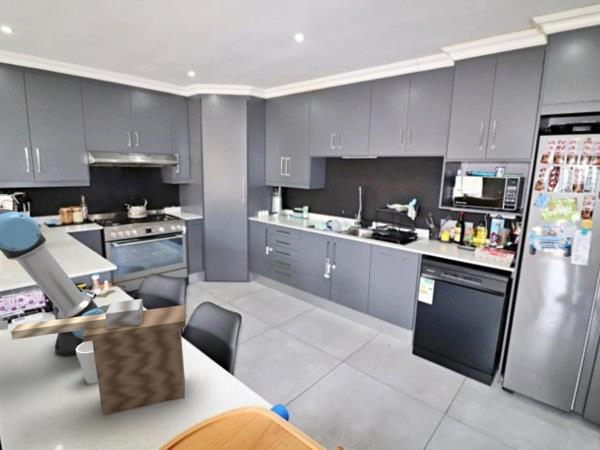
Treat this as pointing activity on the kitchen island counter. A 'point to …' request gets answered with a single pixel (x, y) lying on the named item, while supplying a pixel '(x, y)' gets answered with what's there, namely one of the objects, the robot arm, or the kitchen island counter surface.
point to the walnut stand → (140, 360)
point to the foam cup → (87, 361)
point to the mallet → (86, 321)
